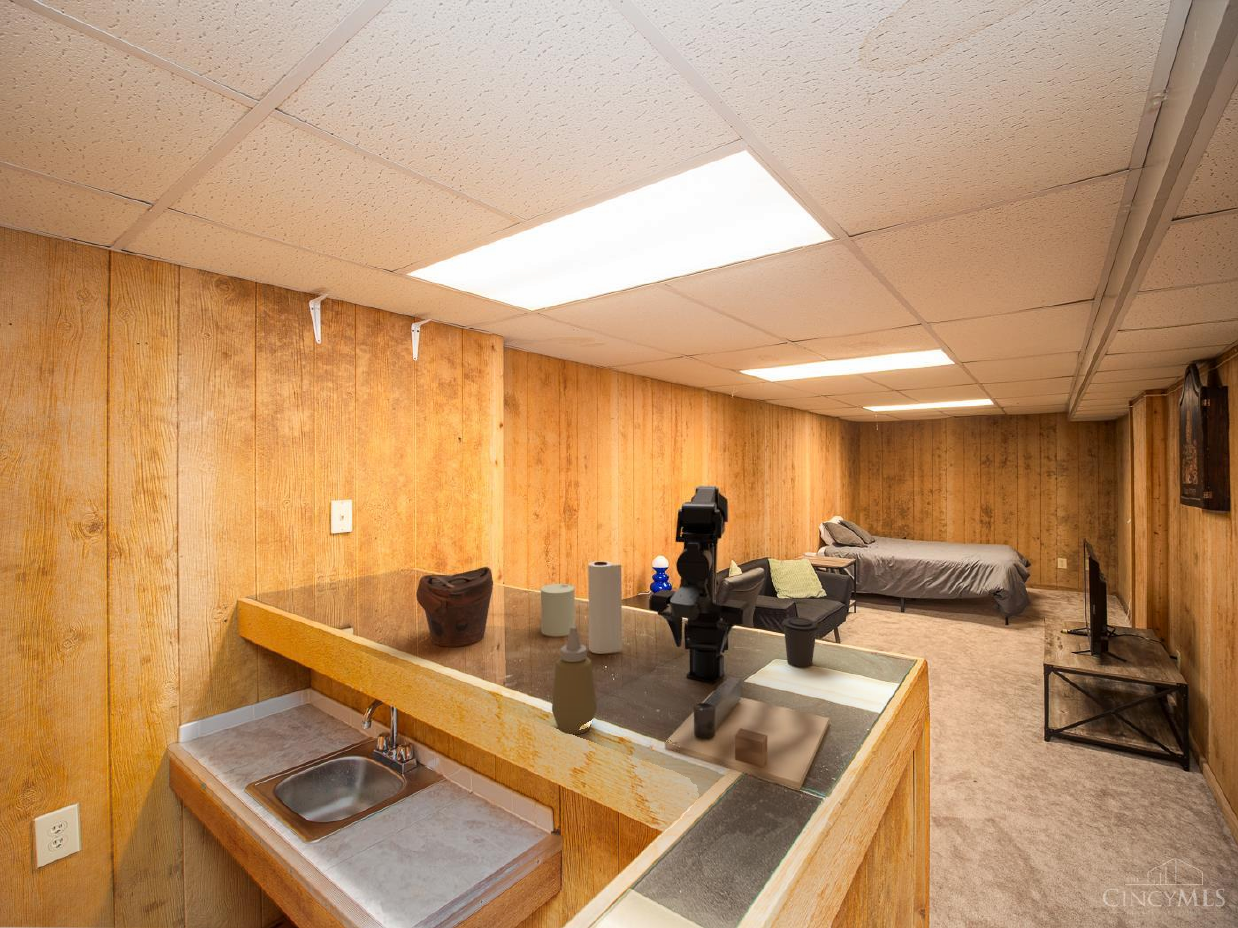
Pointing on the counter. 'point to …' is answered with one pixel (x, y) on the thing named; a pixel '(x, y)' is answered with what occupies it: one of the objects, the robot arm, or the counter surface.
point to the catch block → (751, 747)
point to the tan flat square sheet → (785, 728)
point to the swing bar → (716, 708)
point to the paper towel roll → (605, 607)
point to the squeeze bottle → (573, 687)
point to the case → (456, 606)
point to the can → (557, 609)
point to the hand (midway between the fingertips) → (698, 650)
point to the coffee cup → (800, 641)
